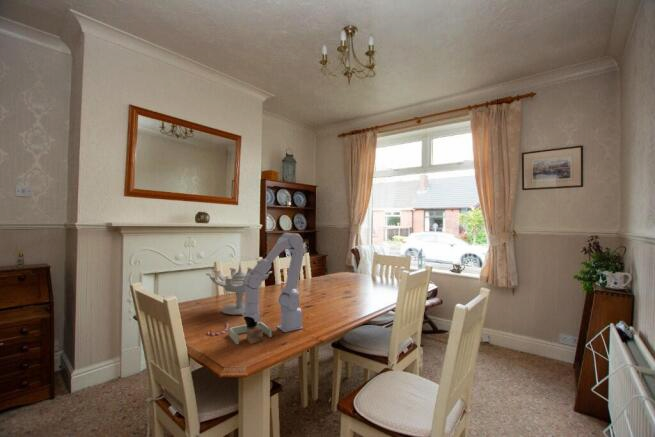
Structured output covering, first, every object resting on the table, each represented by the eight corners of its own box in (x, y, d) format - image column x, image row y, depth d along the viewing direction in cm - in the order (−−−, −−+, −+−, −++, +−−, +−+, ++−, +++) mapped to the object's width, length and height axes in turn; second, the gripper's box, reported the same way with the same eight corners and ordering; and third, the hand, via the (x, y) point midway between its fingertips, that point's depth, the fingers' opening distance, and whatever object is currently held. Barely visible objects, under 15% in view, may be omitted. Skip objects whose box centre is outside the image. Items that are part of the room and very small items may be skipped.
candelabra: (277, 316, 152) (278, 264, 152) (204, 324, 139) (205, 267, 139) (266, 299, 184) (266, 256, 184) (205, 305, 171) (206, 258, 171)
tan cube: (258, 337, 125) (258, 325, 125) (262, 341, 121) (262, 329, 121) (246, 339, 122) (246, 327, 122) (250, 344, 118) (251, 331, 118)
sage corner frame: (261, 328, 136) (261, 321, 136) (271, 336, 126) (271, 329, 126) (228, 334, 127) (228, 328, 127) (236, 344, 118) (236, 336, 118)
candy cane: (234, 322, 141) (222, 334, 126) (234, 324, 141) (222, 337, 126) (218, 321, 141) (204, 333, 126) (218, 324, 141) (204, 336, 126)
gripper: (237, 299, 129) (236, 330, 129) (248, 307, 117) (247, 341, 117) (253, 297, 133) (252, 327, 133) (265, 305, 121) (264, 338, 121)
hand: (251, 333), depth 125 cm, fingers closed
